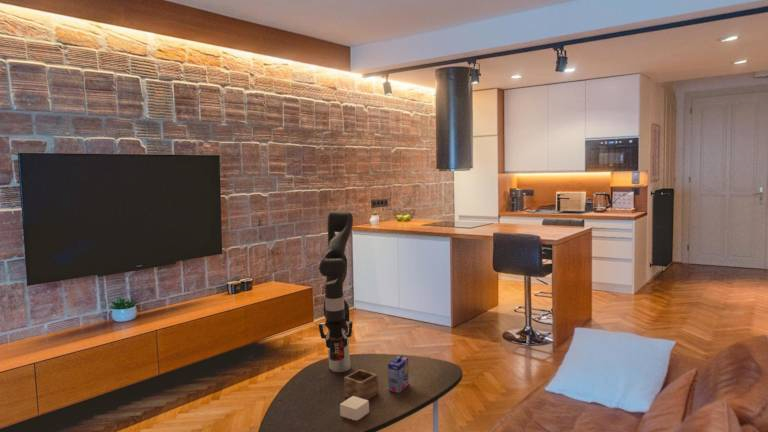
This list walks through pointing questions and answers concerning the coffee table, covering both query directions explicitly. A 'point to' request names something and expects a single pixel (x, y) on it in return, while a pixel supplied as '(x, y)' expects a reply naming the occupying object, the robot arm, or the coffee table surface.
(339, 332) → the deodorant
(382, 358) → the coffee table surface
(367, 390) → the wooden box
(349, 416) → the offwhite block
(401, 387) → the ink cartridge box
